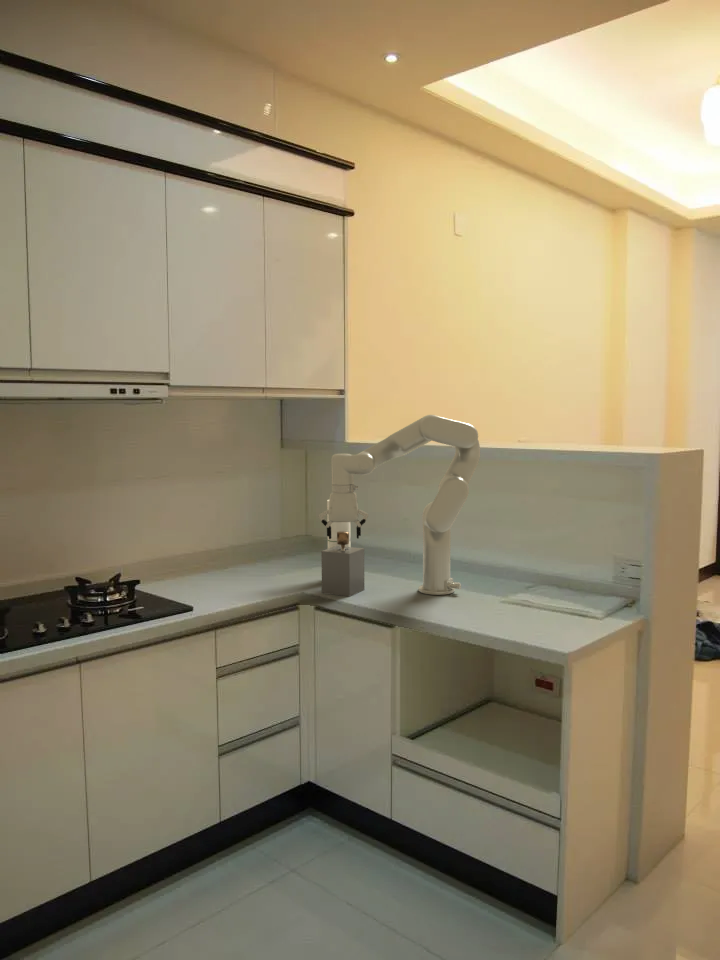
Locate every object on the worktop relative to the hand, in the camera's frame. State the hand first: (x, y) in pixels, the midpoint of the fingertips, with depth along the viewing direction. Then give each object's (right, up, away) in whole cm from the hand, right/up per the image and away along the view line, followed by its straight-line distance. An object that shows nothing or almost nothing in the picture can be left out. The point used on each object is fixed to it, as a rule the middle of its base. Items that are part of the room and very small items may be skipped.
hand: (344, 538), depth 265 cm
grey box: (0, -19, +2) cm, 19 cm away
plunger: (0, -18, +2) cm, 18 cm away
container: (-2, -17, +20) cm, 26 cm away
